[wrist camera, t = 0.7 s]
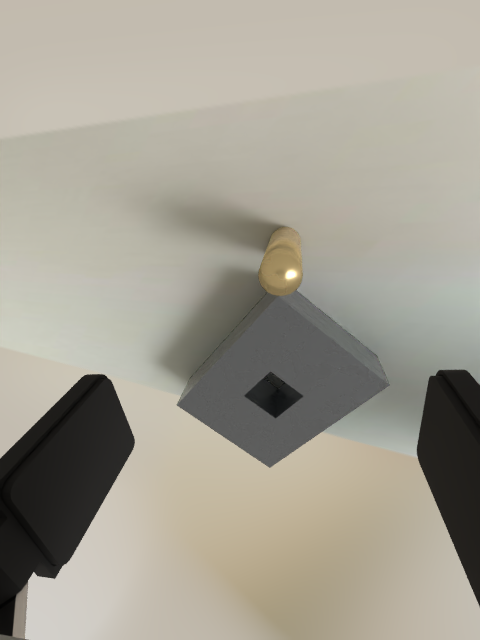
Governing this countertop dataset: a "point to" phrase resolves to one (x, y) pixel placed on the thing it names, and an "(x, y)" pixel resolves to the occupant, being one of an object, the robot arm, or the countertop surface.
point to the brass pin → (282, 263)
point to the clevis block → (282, 378)
